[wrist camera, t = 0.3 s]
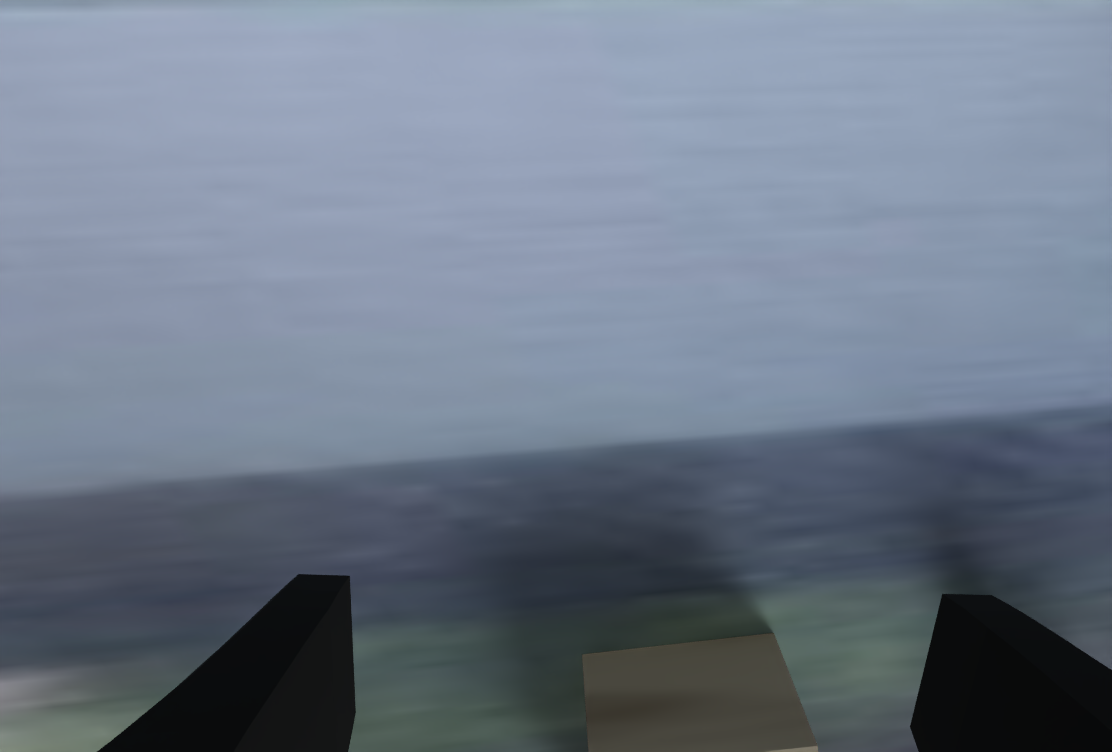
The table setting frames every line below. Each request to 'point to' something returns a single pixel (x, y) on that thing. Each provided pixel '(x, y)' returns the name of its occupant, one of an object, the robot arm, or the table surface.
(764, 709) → the birch block
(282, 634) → the robot arm
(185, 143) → the table surface
